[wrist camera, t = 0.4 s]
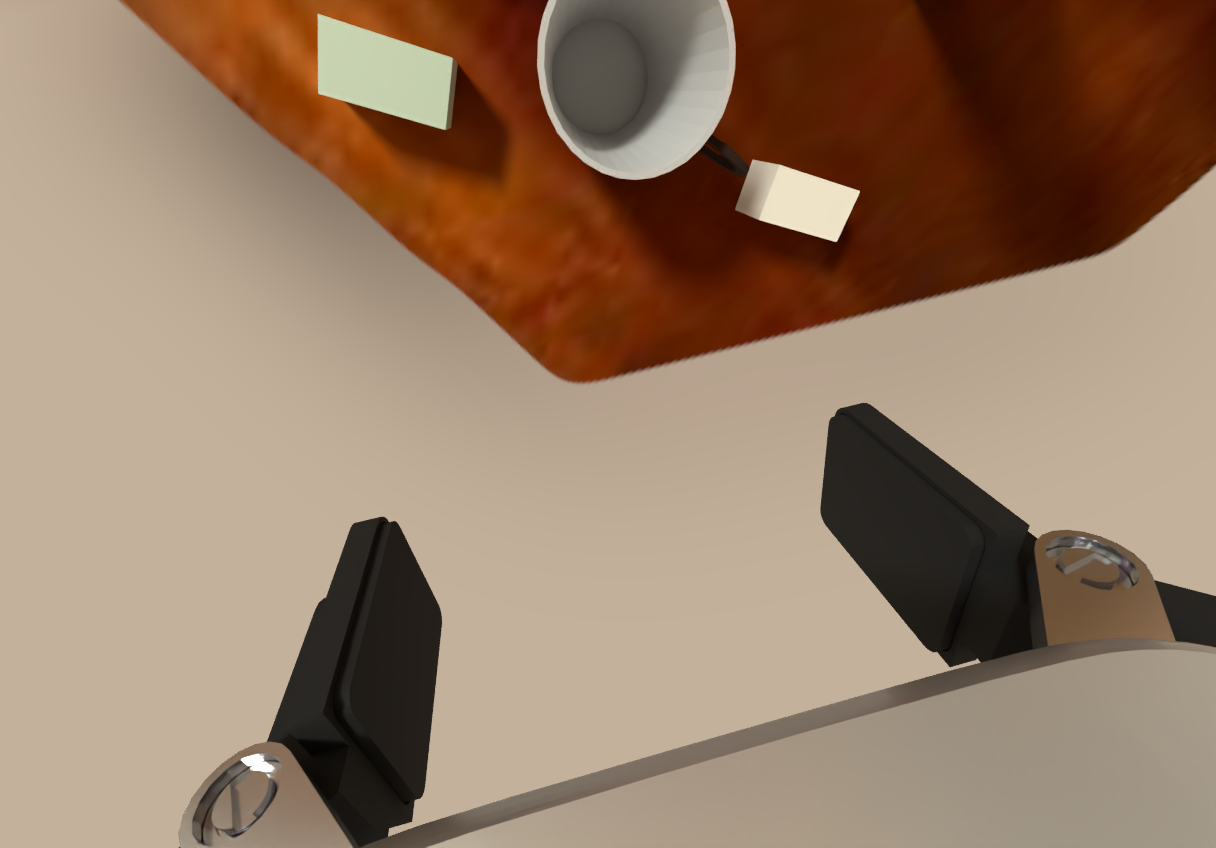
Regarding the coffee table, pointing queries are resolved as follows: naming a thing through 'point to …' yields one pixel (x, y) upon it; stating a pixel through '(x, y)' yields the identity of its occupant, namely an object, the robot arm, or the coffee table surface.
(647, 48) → the coffee mug
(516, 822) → the robot arm
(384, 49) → the sage brick
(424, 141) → the coffee table surface
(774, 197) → the cream brick
